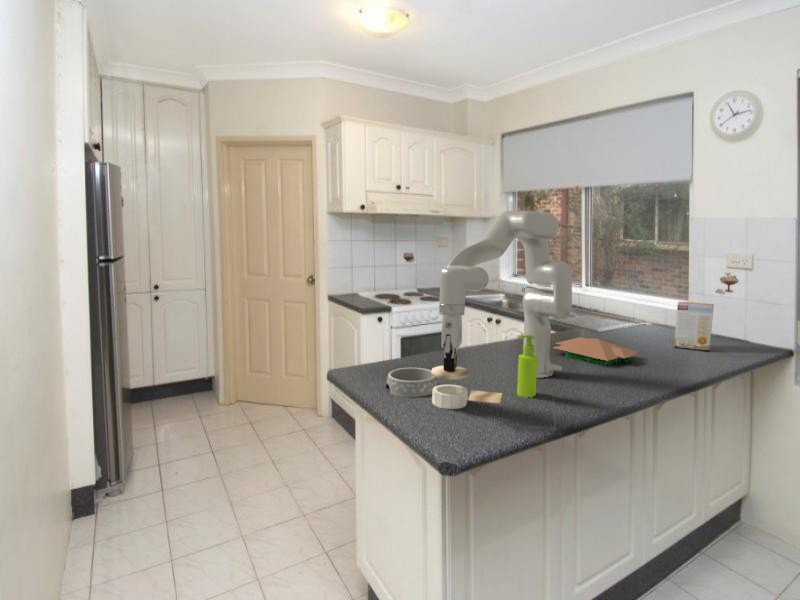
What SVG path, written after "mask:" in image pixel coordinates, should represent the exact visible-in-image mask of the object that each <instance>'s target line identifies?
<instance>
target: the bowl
mask: <svg viewBox="0 0 800 600" xmlns="http://www.w3.org/2000/svg"><path fill="white" fill-rule="evenodd" d="M431 404H432V405H434V406H435V407H437V408H440V409H445V410H457V409H462V408H465V407H466V406H467V404H468V389H467V388H466V387H464V386H461V385H457V384H448V383H447V384H438V386H435V387H434V388H433V389H432V394H431Z"/></svg>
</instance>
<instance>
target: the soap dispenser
mask: <svg viewBox="0 0 800 600" xmlns="http://www.w3.org/2000/svg"><path fill="white" fill-rule="evenodd" d="M516 338H518V339H522V338H523V339H524V338H526V344H524V345H522V347H523V348H522V354H519V355H518V365H517V386H516V387H517V388H516V394H517V396H519V397H521V396H523V397H522V398H528V397H530V398H534V397H533V396H535V395H537V382H538V381H537V379H538V378H537V361H538V357H537V356H536V355H534V345H533V344H532V338H534V336H533V335H528V334H524V333H523V334H518V335H516ZM535 397H536V396H535Z"/></svg>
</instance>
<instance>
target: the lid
mask: <svg viewBox="0 0 800 600" xmlns="http://www.w3.org/2000/svg"><path fill="white" fill-rule="evenodd" d="M456 355H457V354H454V358H455V365H456ZM431 371H432V372H431V374H432V375H433V376H434V377H437V379H441V380H447V381H448V380H449V381H450V380H451V381H453V380H454V381H455V380H464V379H466V378H468V377H469V373H470V371H469V369H467V368H465V367H462V366H456V368H454V371H444V365H438V366H435V367H432V369H431Z"/></svg>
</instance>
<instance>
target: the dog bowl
mask: <svg viewBox="0 0 800 600" xmlns="http://www.w3.org/2000/svg"><path fill="white" fill-rule="evenodd" d="M431 372H432V369H428V368H423V367H402V368H396V369H394V370H391V371H390V372H389V373H388V375H387V379H386V382H385V387H387V386H388V387H389V390H390V391H389V393H390V395H393V394H394V395H393V396H396V395H397V396H396V397H401V396H403V397H402V398H411V397H414V399H415V398H418V397H424V396H430V395H432V389H433V388H434V387H435V386H438V385H439V381H438V378H437V377H434V376H433V375H432V374H431Z"/></svg>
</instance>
